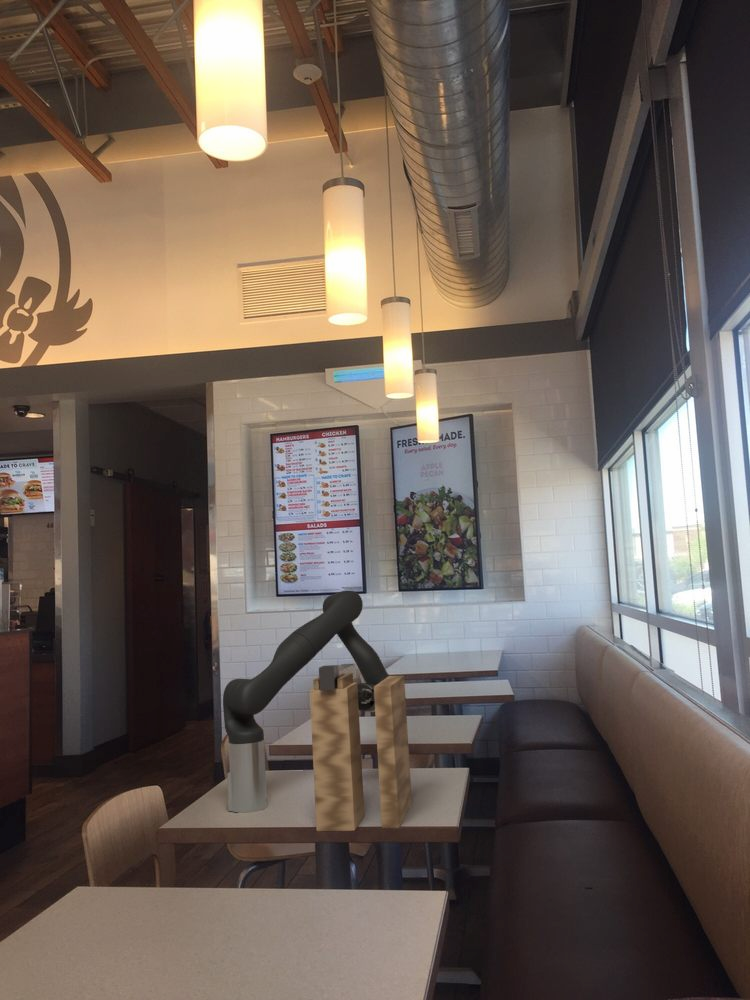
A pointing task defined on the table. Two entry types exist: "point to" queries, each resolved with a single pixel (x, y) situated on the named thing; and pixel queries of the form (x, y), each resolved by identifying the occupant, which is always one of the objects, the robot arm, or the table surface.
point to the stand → (358, 754)
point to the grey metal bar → (334, 675)
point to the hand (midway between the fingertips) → (347, 693)
